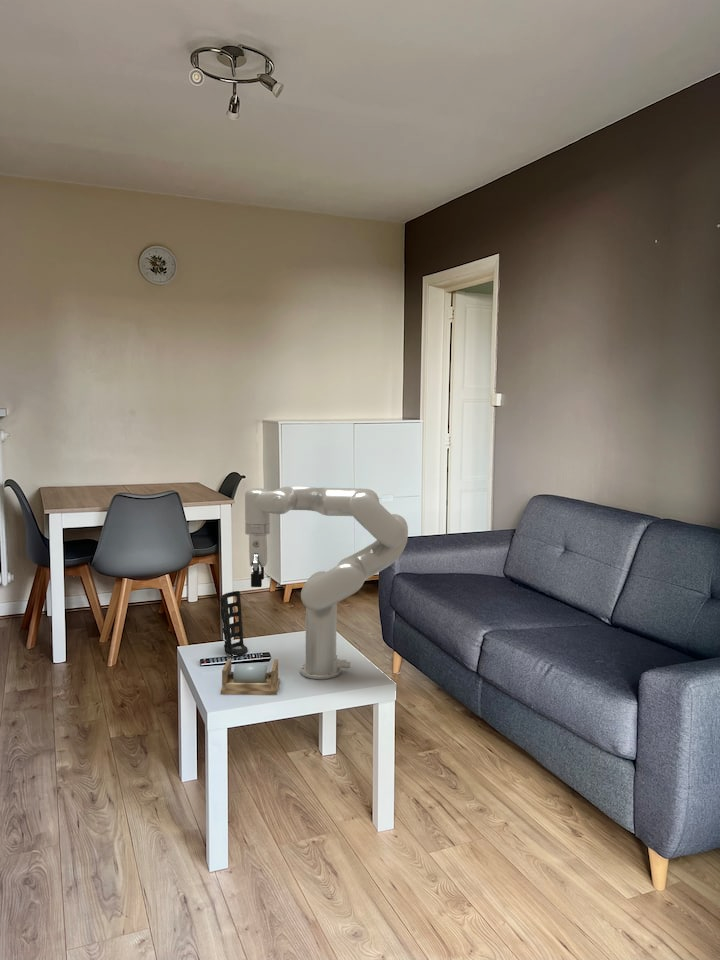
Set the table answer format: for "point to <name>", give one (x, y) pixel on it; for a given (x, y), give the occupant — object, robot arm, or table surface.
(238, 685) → the cradle
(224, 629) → the holder
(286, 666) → the table surface
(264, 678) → the roll
